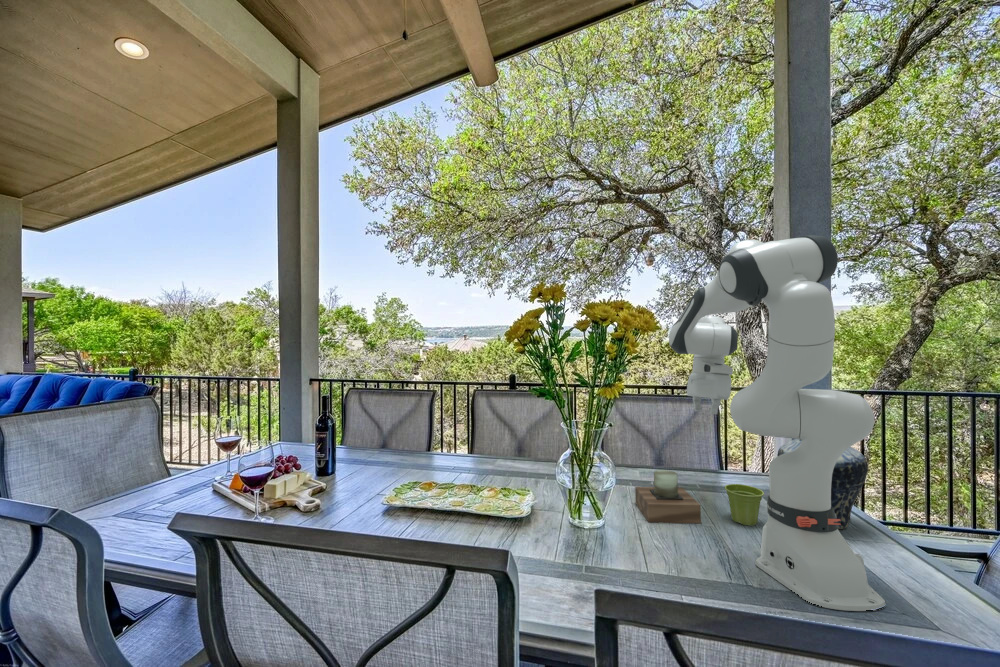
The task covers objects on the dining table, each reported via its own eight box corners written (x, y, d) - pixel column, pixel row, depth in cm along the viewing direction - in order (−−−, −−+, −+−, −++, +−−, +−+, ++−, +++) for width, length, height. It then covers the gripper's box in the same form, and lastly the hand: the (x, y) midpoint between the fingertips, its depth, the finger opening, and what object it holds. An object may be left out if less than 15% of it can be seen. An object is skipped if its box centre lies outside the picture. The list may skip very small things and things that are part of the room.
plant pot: (753, 514, 120) (753, 484, 121) (771, 529, 111) (771, 496, 111) (719, 513, 121) (719, 483, 121) (734, 528, 112) (733, 495, 112)
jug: (891, 540, 104) (887, 418, 105) (811, 540, 105) (808, 418, 105) (827, 507, 125) (825, 406, 126) (761, 507, 125) (759, 406, 126)
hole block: (700, 523, 115) (700, 503, 115) (648, 522, 116) (648, 502, 116) (682, 503, 129) (681, 486, 129) (635, 503, 130) (635, 485, 130)
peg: (681, 514, 119) (680, 476, 119) (658, 513, 119) (657, 476, 120) (673, 505, 125) (673, 470, 126) (651, 505, 126) (651, 469, 126)
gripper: (683, 367, 143) (680, 409, 141) (714, 366, 122) (711, 414, 121) (701, 370, 143) (698, 411, 141) (736, 369, 122) (733, 417, 121)
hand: (705, 412), depth 131 cm, fingers open, 8 cm apart
